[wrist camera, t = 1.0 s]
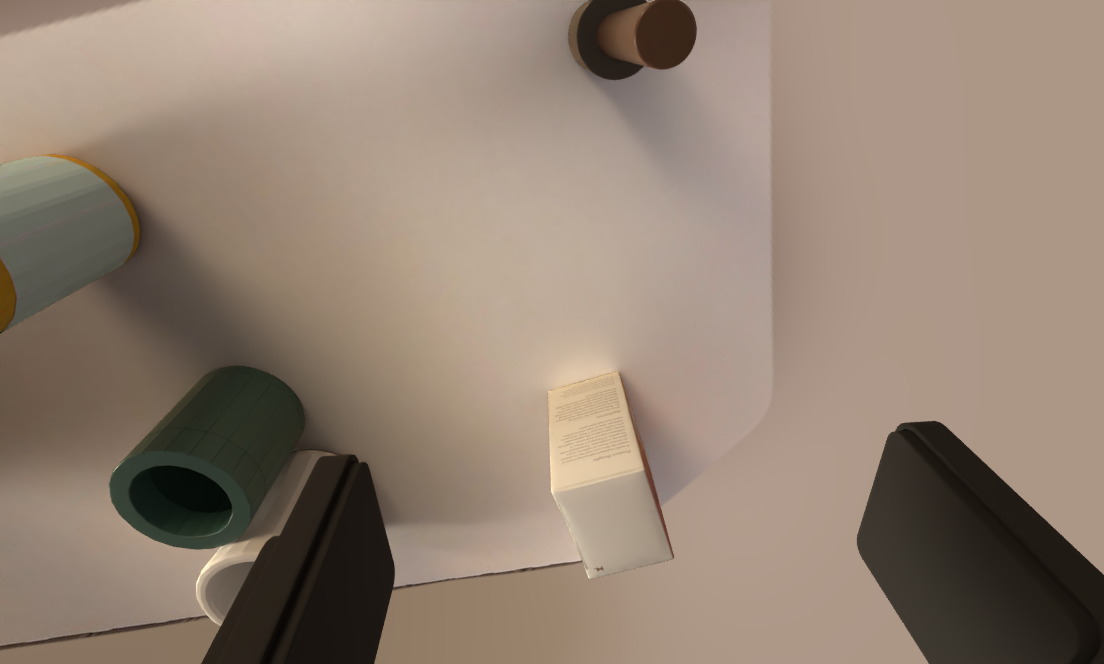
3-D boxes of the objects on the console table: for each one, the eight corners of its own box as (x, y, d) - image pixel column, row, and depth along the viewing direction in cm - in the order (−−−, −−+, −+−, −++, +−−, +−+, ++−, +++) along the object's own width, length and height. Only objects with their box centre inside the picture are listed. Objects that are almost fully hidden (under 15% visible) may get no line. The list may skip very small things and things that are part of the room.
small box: (645, 450, 43) (676, 562, 34) (576, 468, 44) (589, 583, 35) (619, 367, 40) (647, 468, 30) (545, 388, 40) (550, 494, 31)
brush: (558, 14, 29) (583, -7, 15) (622, -16, 29) (711, -67, 15) (582, 83, 31) (625, 123, 17) (643, 56, 30) (742, 72, 16)
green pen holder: (169, 388, 39) (77, 477, 31) (262, 350, 38) (191, 432, 30) (238, 465, 43) (172, 563, 35) (326, 433, 42) (277, 526, 34)
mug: (242, 452, 42) (166, 562, 33) (360, 437, 42) (314, 544, 33) (298, 562, 48) (246, 681, 39) (401, 550, 48) (372, 666, 39)
